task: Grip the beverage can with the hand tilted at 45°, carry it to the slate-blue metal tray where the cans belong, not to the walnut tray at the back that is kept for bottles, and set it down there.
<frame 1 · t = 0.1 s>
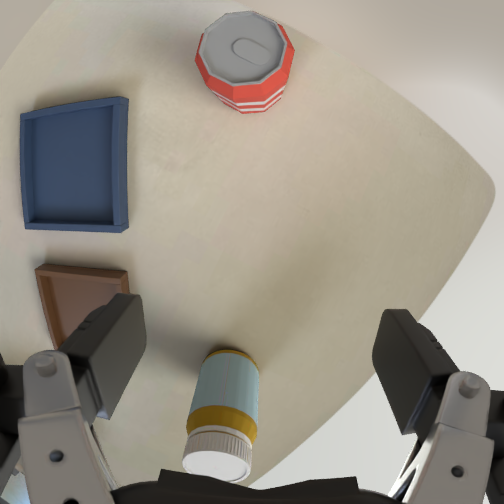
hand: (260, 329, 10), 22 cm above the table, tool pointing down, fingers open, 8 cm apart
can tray: (73, 166, 30), on the table
beverage can: (250, 83, 27), on the table
bottle: (230, 368, 38), on the table
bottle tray: (89, 313, 36), on the table
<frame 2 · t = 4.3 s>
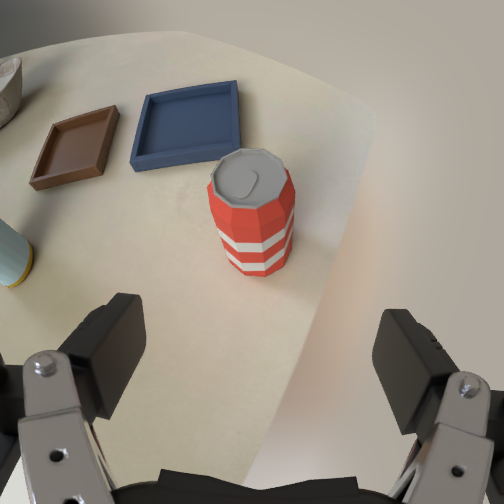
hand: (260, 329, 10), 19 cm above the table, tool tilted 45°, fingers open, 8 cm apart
ceramic bowl: (3, 119, 51), on the table
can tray: (189, 126, 40), on the table
beverage can: (259, 250, 32), on the table
bottle: (18, 264, 34), on the table
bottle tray: (77, 150, 41), on the table
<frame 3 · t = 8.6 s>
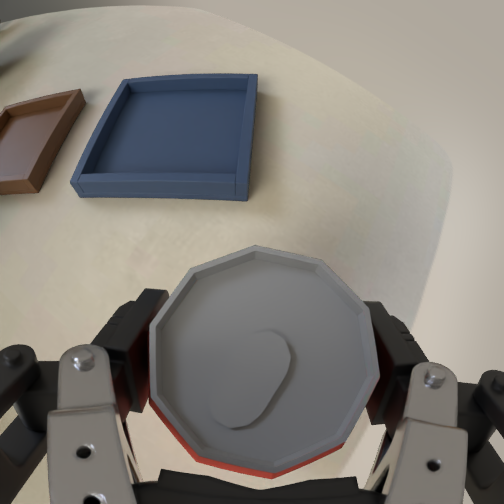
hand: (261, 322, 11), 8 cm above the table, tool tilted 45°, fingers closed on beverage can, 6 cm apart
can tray: (174, 134, 26), on the table
beverage can: (254, 382, 17), on the table, touching gripper
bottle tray: (21, 148, 26), on the table
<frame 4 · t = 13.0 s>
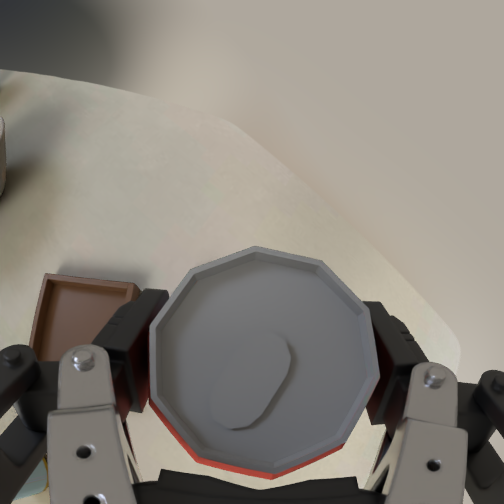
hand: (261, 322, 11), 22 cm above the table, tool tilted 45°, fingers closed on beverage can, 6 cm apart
beverage can: (254, 383, 17), point 14 cm above the table, touching gripper
bottle: (31, 465, 24), on the table
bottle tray: (82, 335, 31), on the table
when the fingers open (9 cm above the table, at t = 17.4 s): beverage can stays where it is, resting on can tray.
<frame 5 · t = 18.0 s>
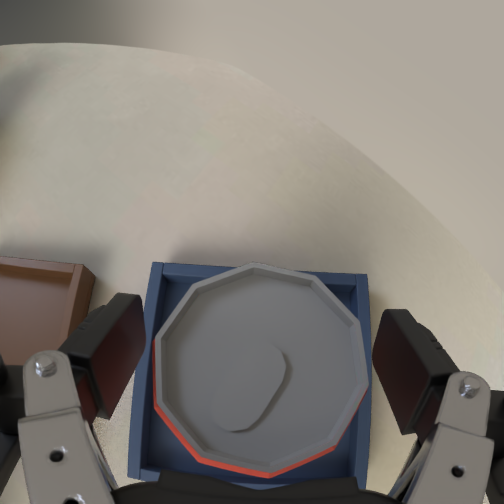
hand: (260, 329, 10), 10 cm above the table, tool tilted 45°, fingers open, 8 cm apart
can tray: (253, 383, 18), on the table
beverage can: (253, 385, 18), resting on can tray
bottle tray: (17, 342, 19), on the table
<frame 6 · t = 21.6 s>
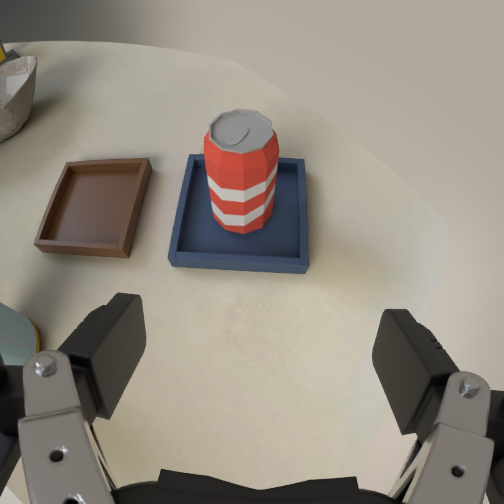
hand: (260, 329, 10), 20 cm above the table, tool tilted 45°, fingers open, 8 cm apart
ceramic bowl: (8, 128, 44), on the table
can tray: (242, 213, 35), on the table
beverage can: (242, 212, 35), resting on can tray
bottle: (21, 346, 28), on the table
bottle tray: (95, 209, 36), on the table
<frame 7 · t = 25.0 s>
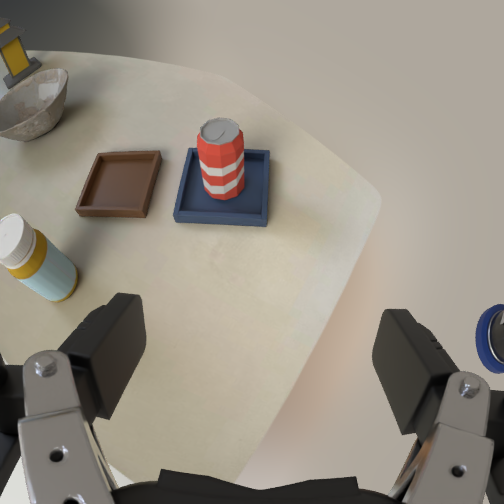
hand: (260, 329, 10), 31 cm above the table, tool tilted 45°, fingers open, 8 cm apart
ceramic bowl: (42, 127, 60), on the table
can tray: (224, 187, 50), on the table
lantern: (22, 73, 75), on the table
beverage can: (224, 187, 50), resting on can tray
bottle: (61, 282, 43), on the table
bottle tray: (120, 186, 51), on the table
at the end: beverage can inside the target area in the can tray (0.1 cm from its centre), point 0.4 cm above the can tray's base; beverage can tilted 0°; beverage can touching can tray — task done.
